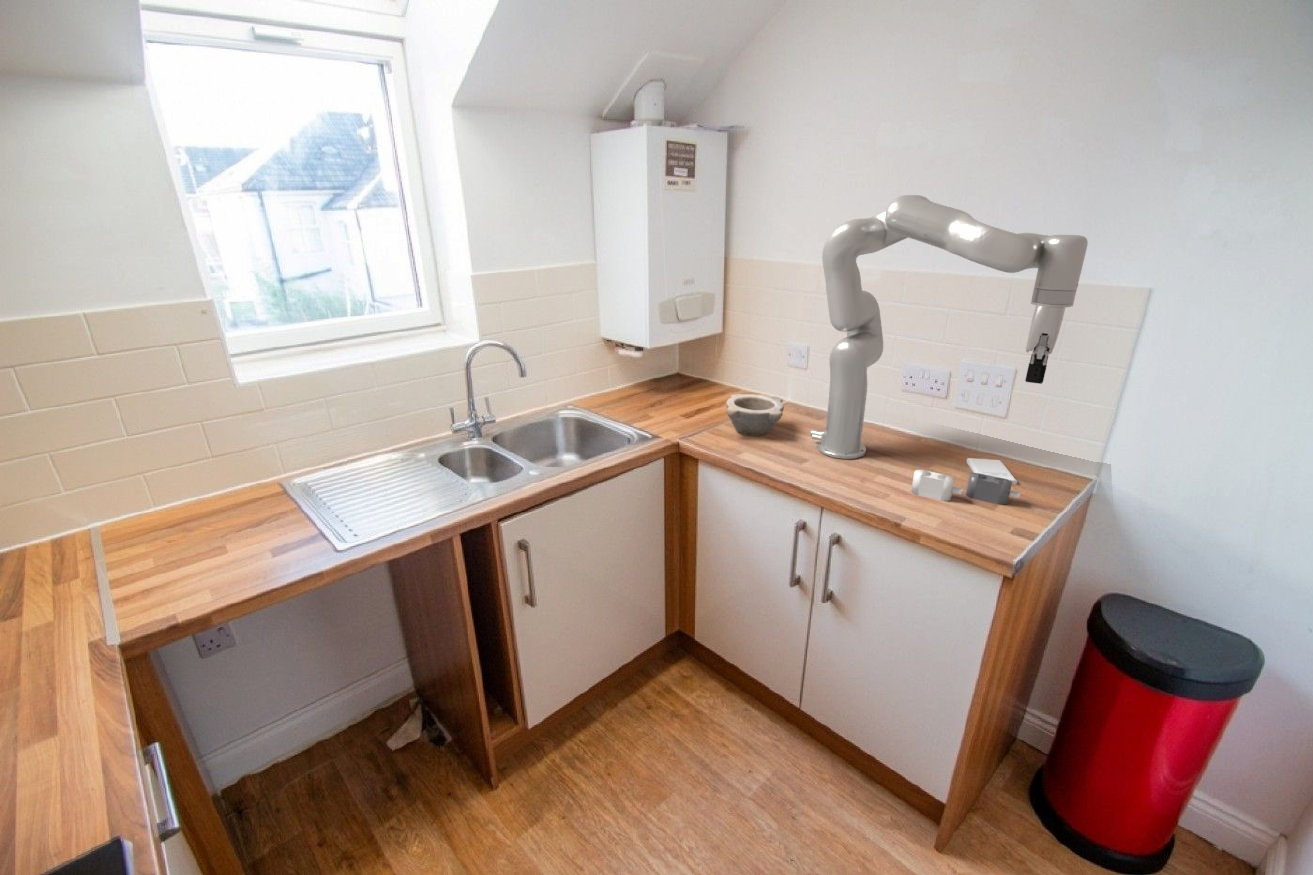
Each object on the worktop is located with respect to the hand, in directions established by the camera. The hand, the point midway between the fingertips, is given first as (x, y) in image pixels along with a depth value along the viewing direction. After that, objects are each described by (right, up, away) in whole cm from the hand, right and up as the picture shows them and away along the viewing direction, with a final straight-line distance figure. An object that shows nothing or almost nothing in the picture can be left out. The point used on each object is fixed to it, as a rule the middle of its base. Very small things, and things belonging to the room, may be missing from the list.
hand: (1035, 377), depth 131 cm
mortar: (-53, -11, +49) cm, 74 cm away
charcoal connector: (-7, -27, +7) cm, 29 cm away
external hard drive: (+1, -23, +20) cm, 31 cm away
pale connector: (-19, -27, +9) cm, 34 cm away
